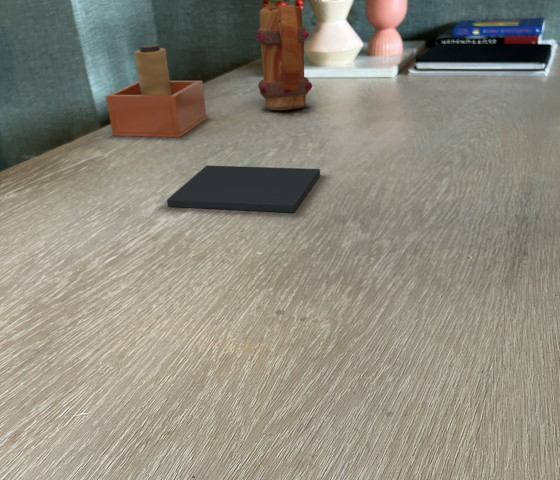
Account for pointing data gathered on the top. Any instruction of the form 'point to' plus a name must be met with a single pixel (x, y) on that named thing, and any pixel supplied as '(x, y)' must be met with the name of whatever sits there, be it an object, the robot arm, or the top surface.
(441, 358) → the top surface
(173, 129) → the terracotta open box
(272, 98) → the mug
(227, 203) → the mat
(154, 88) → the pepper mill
